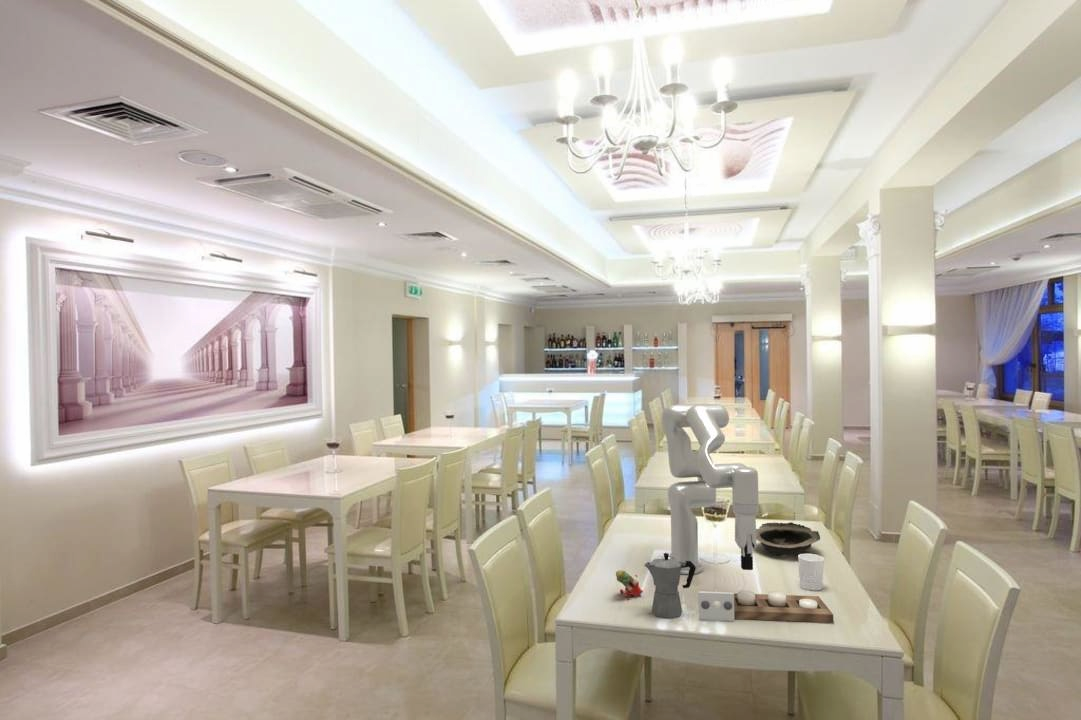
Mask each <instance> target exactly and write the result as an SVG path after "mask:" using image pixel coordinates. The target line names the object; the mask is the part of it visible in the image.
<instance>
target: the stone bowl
mask: <svg viewBox="0 0 1081 720" xmlns="http://www.w3.org/2000/svg"><path fill="white" fill-rule="evenodd" d="M820 540H821V535H820V533H819V531H818V530H816V531H815V530H812V529H811V528H810V527H807V526H805V525H803V524H802V525H801V524H800V523H798V524H797V523H794V522H792V521H790V522H784V523H783V522H765V523H761V525H760V526H759V528H756V541H758V542H760V544H761V546H762V549H764V550H765V552H766V553H767V554H771V555H774V556H777V557H783V556H793V555H794V556H795V555H797V554H802V553H804V552H806V551H808V550H810V549H811V547H812V544H814V543H816V542H819V541H820Z"/></svg>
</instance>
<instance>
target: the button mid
mask: <svg viewBox="0 0 1081 720" xmlns="http://www.w3.org/2000/svg"><path fill="white" fill-rule="evenodd" d="M767 594H768V603H769V604H770V605H772V606H776V607H783V606H786V595H787V594H786V593H784V592H781V591H777V590H776V591H775V590H774V591H771V590H770V591H769V592H768V593H767Z"/></svg>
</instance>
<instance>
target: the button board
mask: <svg viewBox="0 0 1081 720" xmlns="http://www.w3.org/2000/svg"><path fill="white" fill-rule="evenodd" d="M733 593H734V620H744V621H746V620H748V621H769V622H770V621H773V622H792V623H793V622H797V623H819V624H820V623H822V624H834V613H832V611H831V610H830V609H829V607H828V606H827V604H825V602H824V601H823V600H822V599H821V598H820V596H819V595H818V596H817V595H793V594H791V595H790V594H785V595H786V606H783V607H776V606H772V605H770V604H769V603H768V593H767V594H764V593H755V604H754V605H751V606H746V605H742V604H739V603H738V592H736V593H735V592H733ZM800 599H811V600H814V601H816V602H817V609H814V608H800V606H799V600H800Z"/></svg>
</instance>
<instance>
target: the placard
mask: <svg viewBox="0 0 1081 720" xmlns="http://www.w3.org/2000/svg"><path fill="white" fill-rule="evenodd" d="M734 593H735V592H726V591H725V592H722V591H703V590H702V591H699V590H698V620H699V621H720V622H721V621H722V622H725V621H726V622H735V619H734Z"/></svg>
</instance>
